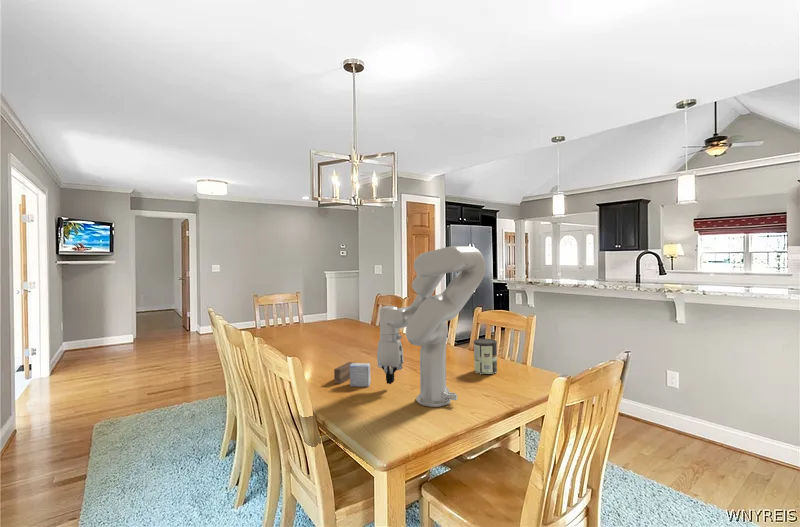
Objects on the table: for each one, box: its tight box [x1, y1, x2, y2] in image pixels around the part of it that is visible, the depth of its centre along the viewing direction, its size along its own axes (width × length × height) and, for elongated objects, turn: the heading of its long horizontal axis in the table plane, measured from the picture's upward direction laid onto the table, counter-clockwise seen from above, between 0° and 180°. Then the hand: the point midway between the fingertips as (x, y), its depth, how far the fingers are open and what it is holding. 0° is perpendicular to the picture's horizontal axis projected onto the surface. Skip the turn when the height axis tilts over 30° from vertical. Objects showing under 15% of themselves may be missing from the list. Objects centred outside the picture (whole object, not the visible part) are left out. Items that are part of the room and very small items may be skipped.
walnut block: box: [333, 361, 356, 385], centre depth 171 cm, size 3×12×6 cm, turn 155°
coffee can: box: [473, 338, 498, 375], centre depth 178 cm, size 10×10×14 cm
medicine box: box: [349, 362, 372, 388], centre depth 163 cm, size 8×4×9 cm, turn 84°
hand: (390, 382), depth 157 cm, fingers closed
